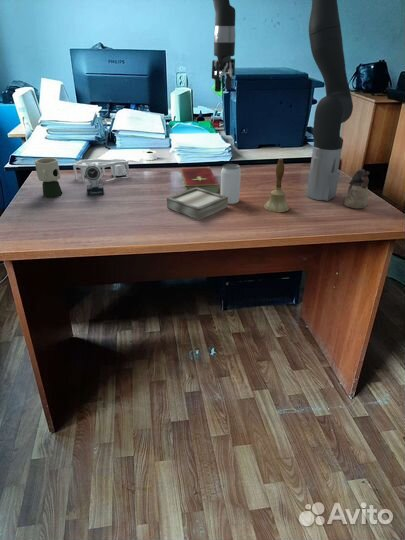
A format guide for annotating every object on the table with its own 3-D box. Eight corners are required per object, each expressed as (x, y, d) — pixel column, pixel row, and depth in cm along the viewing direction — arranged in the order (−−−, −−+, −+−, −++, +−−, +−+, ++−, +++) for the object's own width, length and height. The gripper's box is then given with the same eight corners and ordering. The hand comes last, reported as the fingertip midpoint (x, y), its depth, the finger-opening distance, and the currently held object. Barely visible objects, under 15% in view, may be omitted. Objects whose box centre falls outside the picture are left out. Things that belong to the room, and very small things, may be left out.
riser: (227, 207, 131) (227, 197, 129) (198, 220, 122) (198, 209, 120) (196, 197, 139) (196, 187, 137) (167, 208, 130) (166, 197, 128)
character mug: (60, 203, 133) (52, 164, 127) (38, 203, 133) (29, 165, 126) (67, 192, 143) (61, 155, 136) (47, 192, 142) (39, 156, 136)
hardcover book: (210, 176, 160) (210, 166, 158) (218, 195, 142) (219, 183, 140) (180, 177, 159) (180, 167, 156) (185, 196, 141) (185, 185, 139)
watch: (87, 199, 136) (83, 168, 131) (88, 191, 143) (83, 161, 137) (104, 198, 138) (100, 167, 132) (104, 190, 144) (100, 160, 139)
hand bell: (270, 213, 127) (275, 164, 119) (260, 204, 134) (264, 156, 125) (293, 211, 129) (300, 162, 120) (282, 202, 136) (288, 154, 127)
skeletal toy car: (131, 175, 160) (129, 157, 156) (127, 184, 151) (126, 165, 147) (81, 175, 159) (78, 157, 156) (74, 184, 150) (71, 165, 146)
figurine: (356, 199, 138) (364, 165, 131) (370, 207, 132) (379, 171, 126) (339, 202, 135) (346, 167, 129) (353, 209, 130) (361, 173, 124)
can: (239, 204, 133) (241, 169, 127) (220, 204, 133) (221, 169, 127) (238, 197, 139) (240, 163, 132) (220, 197, 139) (221, 163, 133)
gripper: (225, 41, 136) (223, 93, 144) (242, 40, 146) (240, 89, 155) (205, 41, 139) (205, 91, 147) (224, 40, 149) (222, 87, 158)
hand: (223, 90), depth 151 cm, fingers open, 8 cm apart
